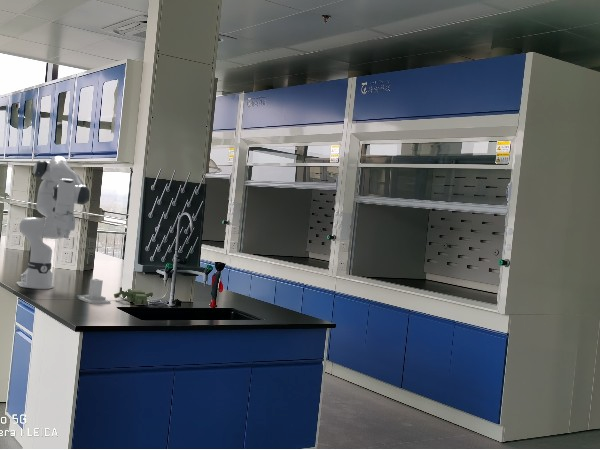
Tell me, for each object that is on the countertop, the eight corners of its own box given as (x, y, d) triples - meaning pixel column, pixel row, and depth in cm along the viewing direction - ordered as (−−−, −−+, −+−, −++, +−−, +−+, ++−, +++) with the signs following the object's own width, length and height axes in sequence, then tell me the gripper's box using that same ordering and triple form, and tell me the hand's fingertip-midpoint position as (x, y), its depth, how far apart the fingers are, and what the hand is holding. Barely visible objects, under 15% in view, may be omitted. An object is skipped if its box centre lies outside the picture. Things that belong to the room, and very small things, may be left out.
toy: (107, 296, 379) (121, 309, 353) (109, 283, 379) (123, 294, 353) (144, 298, 390) (161, 310, 364) (146, 285, 389) (162, 296, 364)
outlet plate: (78, 299, 359) (79, 293, 359) (97, 299, 366) (98, 294, 366) (90, 303, 349) (91, 298, 349) (110, 303, 356) (110, 298, 356)
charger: (88, 298, 358) (90, 278, 358) (96, 298, 361) (98, 278, 361) (92, 299, 354) (94, 279, 354) (100, 299, 358) (102, 280, 357)
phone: (76, 296, 366) (76, 295, 366) (87, 296, 371) (87, 294, 371) (92, 301, 357) (92, 299, 357) (103, 300, 363) (103, 299, 363)
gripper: (79, 212, 345) (76, 240, 346) (62, 208, 360) (60, 234, 361) (67, 212, 340) (64, 239, 341) (50, 207, 355) (48, 234, 356)
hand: (62, 237), depth 351 cm, fingers open, 8 cm apart
